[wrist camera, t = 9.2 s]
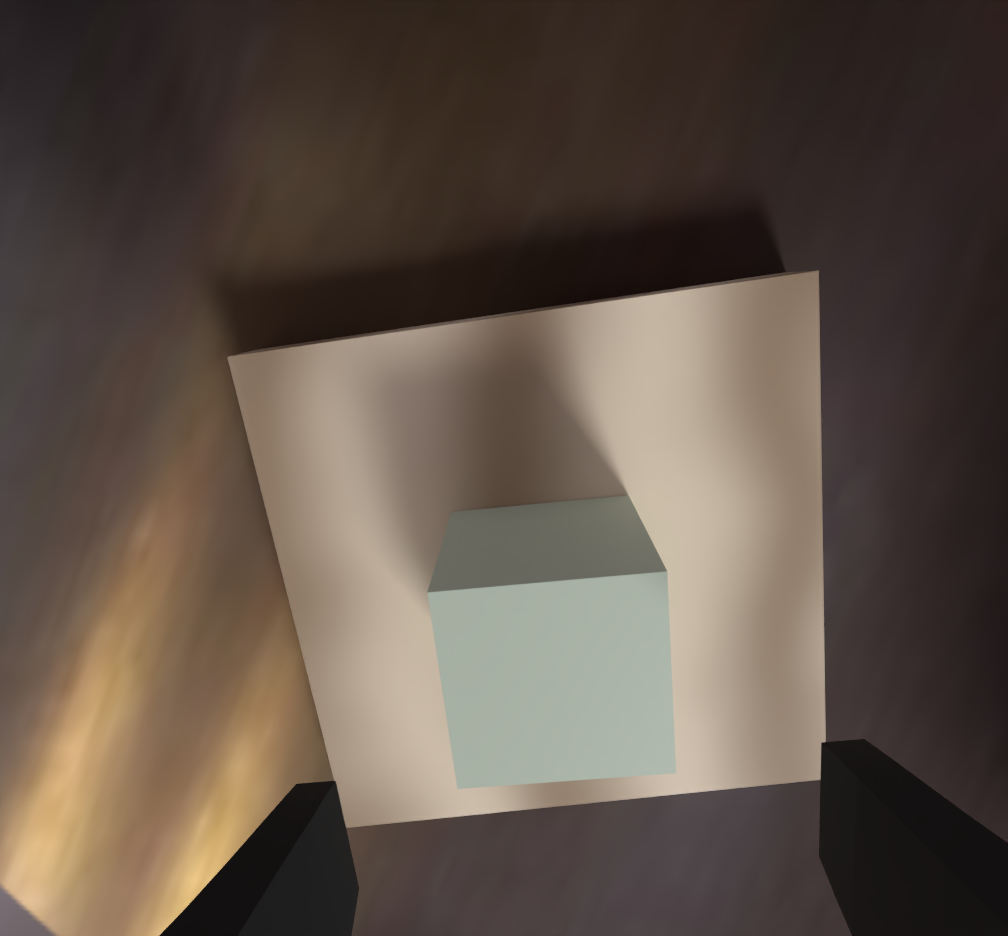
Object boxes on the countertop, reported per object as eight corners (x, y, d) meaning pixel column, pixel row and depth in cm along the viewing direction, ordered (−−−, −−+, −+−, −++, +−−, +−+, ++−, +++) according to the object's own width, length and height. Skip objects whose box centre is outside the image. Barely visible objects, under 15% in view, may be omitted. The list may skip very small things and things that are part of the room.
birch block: (776, 272, 17) (818, 270, 15) (791, 722, 21) (826, 778, 19) (265, 347, 18) (226, 356, 16) (365, 767, 22) (346, 828, 19)
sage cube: (628, 495, 16) (666, 571, 12) (638, 652, 18) (676, 773, 13) (451, 511, 17) (427, 592, 12) (472, 666, 18) (457, 788, 14)
